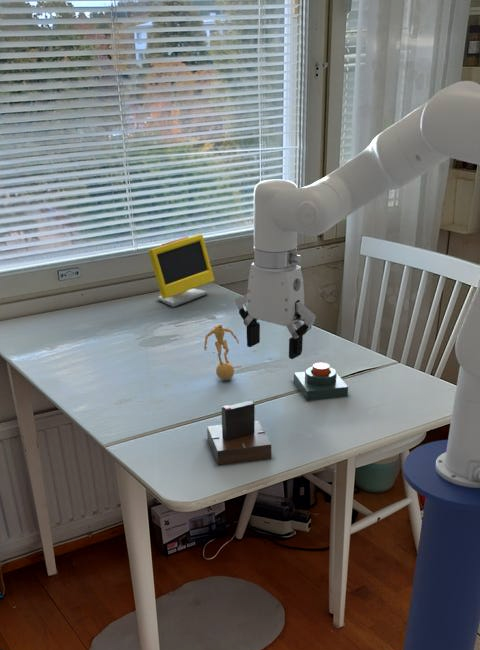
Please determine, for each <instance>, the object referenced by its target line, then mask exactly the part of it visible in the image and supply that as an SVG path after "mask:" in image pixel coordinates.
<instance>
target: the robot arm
mask: <svg viewBox="0 0 480 650" xmlns="http://www.w3.org/2000/svg"><path fill="white" fill-rule="evenodd" d="M450 158H451V159H453V160H458V161H461V162H466V163H469V164H474V165H477V166H478V165H479V166H480V84H479V83H477V82H475V81H473V80H461V81H457V82H455V83H452V84H450V85H448V86H445V87H444V88H442V89H440V90H439V91H438V92H436V93H435V94H434V95H432V97H431V98H430V99H429V100H427V101H426V102H424V103H423V104H422V105H420V106H418V107H417V108H416V109H413V111H411V112H410V113H408V114H406V115H405V116H404V117H402V118H401V119H400V120H397V122H395V123H393V124H391V125H390V126H389V127H387V128H385V129H384V130H383V131H382V132H380V133H379V134H377V135H376V136H375V137H374V138H373V139H372V141H371V142H370V144H369V145H368V146H366V148H365V149H363V150H362V151H361V152H360V153H358V154H357V155H355V156H354V157H352V158H351V159H349V160H348V161H347V162H344V164H342V165H340V166H339V167H338V168H336V169H335V170H333V171H332V172H330V173H329V174H327V175H325V176H324V177H322V178H321V179H318V180H317V181H314V182H313V183H311V184H308V185H306V186H303V187H298V186H297V184H296V183H295V182H294V181H291V180H287V179H275V178H274V179H264V180H262V181H258V183H257V184H256V185H255V186H254V189H253V262H252V263H251V266H250V270H249V274H248V283H247V293H246V294H243V295H241V296H238V297H235V300H234V301H235V304H236V307H237V309H238V313H239V315H240V317H241V319H242V320H243V325H244V326H246V347H248V348H251V347H254V346H256V345H258V344H260V342H261V323H260V321H262V322H267V323H269V324H274V325H278V326H282V327H286V328H287V330H288V332H289V333H290V335H291V337H289V339H288V358H289V359H291V360H294V359H296V358H298V357H299V356H301V355H302V352H303V345H304V343H303V342H304V335H306V333H308V332H309V331H310V330H311V329H312V326H313V325H314V323H315V321H316V319H317V316H316V314H315V313H314V312H312V311H311V309H309V308H308V307H306V306H305V289H304V287H305V286H304V278H303V273H302V269H301V266H300V265H297V264H301V263H302V259H303V257H302V255H301V254H298V234H300V235H304V236H308V237H309V236H310V237H315V236H320V235H322V234H325V233H326V232H327V231H329V230H330V229H331V228H333V227H334V226H335V225H337V224H338V223H340V222H342V221H343V220H344V219H346V218H347V217H349V216H350V215H351V214H353V213H355V212H356V211H358V210H359V209H361V208H363V207H364V206H366V205H368V204H369V203H370V202H373V201H374V200H375V199H377V198H379V197H380V196H382V195H384V194H386V193H388V192H390V191H394V190H399V189H401V188H403V187H405V186H407V185H408V184H410V183H411V182H414V180H416V179H418V178H419V177H421V176H422V175H424V174H426V173H427V172H429V171H430V170H432V169H434V168H436V167H437V166H439V165H440V164H442V163H444V162H445V161H447V160H448V159H450ZM258 320H259V321H258ZM302 320H303V322H302ZM454 350H455V357H456V360H457V362H458V364H459V369H458V375H457V381H456V388H455V392H454V399H453V406H452V413H451V419H450V425H449V432H448V437H447V440H448V444H447V450H446V452H445V453H443V454H441V455H440V456H439V457H438V458H437V460H436V465H435V468H436V471H437V473H438V474H439V475H440V476H441V477H442V478H444V479H445V480H447V481H449V482H451V483H453V484H456V485H459V486H464V487H470V488H480V281H479V282H478V285H477V286H476V289H475V292H474V295H473V297H472V300H471V302H470V304H469V307H468V309H467V311H466V314H465V316H464V319H463V321H462V324H461V326H460V328H459V331H458V333H457V335H456V339H455V345H454Z"/></svg>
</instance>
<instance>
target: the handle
mask: <svg viewBox="0 0 480 650" xmlns="http://www.w3.org/2000/svg"><path fill="white" fill-rule="evenodd" d="M255 405H256V404H255V402H253V401H252V400H247V401H243V402H239V403H234V404H231V405H228V404H227V405H223V406H221V425H222V437H223V438H224V439H225V440H229V439H233V438H237V437H241V436H245V435H248V434H252V433H255V421H256V420H255V419H256V417H255V413H256V411H255Z"/></svg>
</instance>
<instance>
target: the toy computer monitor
mask: <svg viewBox="0 0 480 650" xmlns="http://www.w3.org/2000/svg"><path fill="white" fill-rule="evenodd" d="M148 255H149V258H150V261H151V266H152V268H153V272H154V274H155V278H156V282H157V285H158V289H159V292H160V295H159V296H157V298H158V301H159V302H161V303H164V304H166V305H168V306H170V307H172V308H174V307H177V306H180V305H182V304H185V303H188V302H190V301H193V300H195V299H198V298H201V297H204V296H206V295H207V290H203V289H199V288H198V287H201V286H204V285H206V284H208V283H209V284H210V283H212V282H214V281H215V276H214V273H213V268H212V264H211V262H210V261H211V260H210V257H209V254H208V249H207V247H206V243H205V239H204V235H203V233H200V234H199V233H198V234H196V235H194V236H185V237H180V238H178V239H174V240H171V241H168V242H165V243H161V246H157V247H154V248H151V249H148ZM197 288H198V289H197Z"/></svg>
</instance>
